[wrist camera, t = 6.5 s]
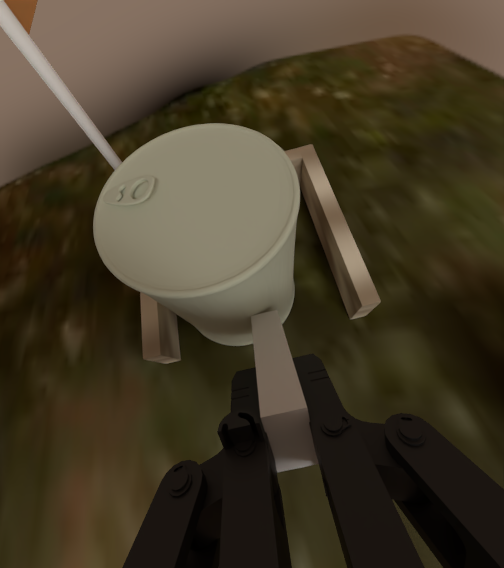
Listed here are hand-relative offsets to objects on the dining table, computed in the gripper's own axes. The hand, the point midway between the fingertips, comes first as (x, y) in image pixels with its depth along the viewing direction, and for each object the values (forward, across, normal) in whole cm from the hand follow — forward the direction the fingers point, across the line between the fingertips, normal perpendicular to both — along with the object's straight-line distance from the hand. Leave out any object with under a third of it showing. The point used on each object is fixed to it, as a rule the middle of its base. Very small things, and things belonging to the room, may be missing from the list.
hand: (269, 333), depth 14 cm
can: (+8, -2, 0) cm, 8 cm away
